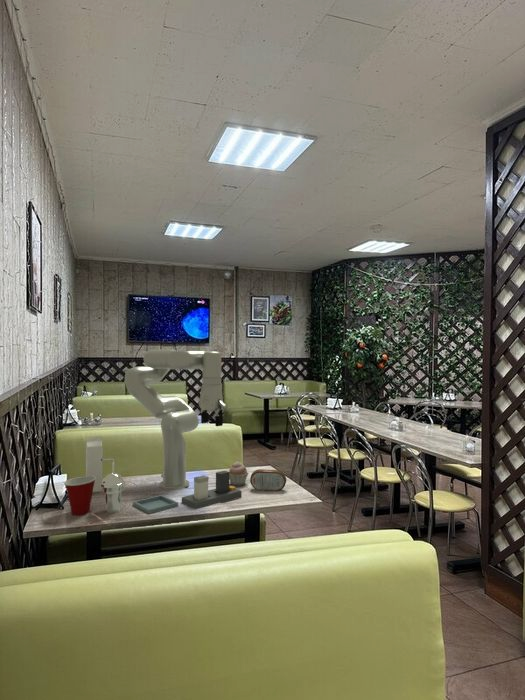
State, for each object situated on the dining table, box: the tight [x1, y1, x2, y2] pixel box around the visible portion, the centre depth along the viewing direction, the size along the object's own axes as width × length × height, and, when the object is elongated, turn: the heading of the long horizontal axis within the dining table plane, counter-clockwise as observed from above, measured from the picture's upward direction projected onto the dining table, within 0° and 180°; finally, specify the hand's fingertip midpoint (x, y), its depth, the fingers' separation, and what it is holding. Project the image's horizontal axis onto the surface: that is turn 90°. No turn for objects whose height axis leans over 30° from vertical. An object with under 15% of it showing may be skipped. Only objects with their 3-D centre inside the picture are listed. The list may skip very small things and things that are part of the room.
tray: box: [132, 494, 179, 515], centre depth 167 cm, size 12×12×2 cm
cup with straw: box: [101, 458, 127, 513], centre depth 162 cm, size 8×9×20 cm
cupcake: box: [228, 460, 250, 487], centre depth 196 cm, size 9×9×10 cm
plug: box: [193, 474, 209, 500], centre depth 171 cm, size 3×4×10 cm
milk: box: [85, 436, 104, 493], centre depth 187 cm, size 6×6×22 cm
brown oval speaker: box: [249, 468, 287, 492], centre depth 188 cm, size 15×3×8 cm, turn 84°
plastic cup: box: [63, 475, 96, 516], centre depth 161 cm, size 11×11×12 cm
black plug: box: [215, 470, 230, 494], centre depth 178 cm, size 3×4×10 cm
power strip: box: [181, 485, 242, 510], centre depth 175 cm, size 9×22×3 cm, turn 132°
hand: (211, 424), depth 182 cm, fingers open, 9 cm apart
